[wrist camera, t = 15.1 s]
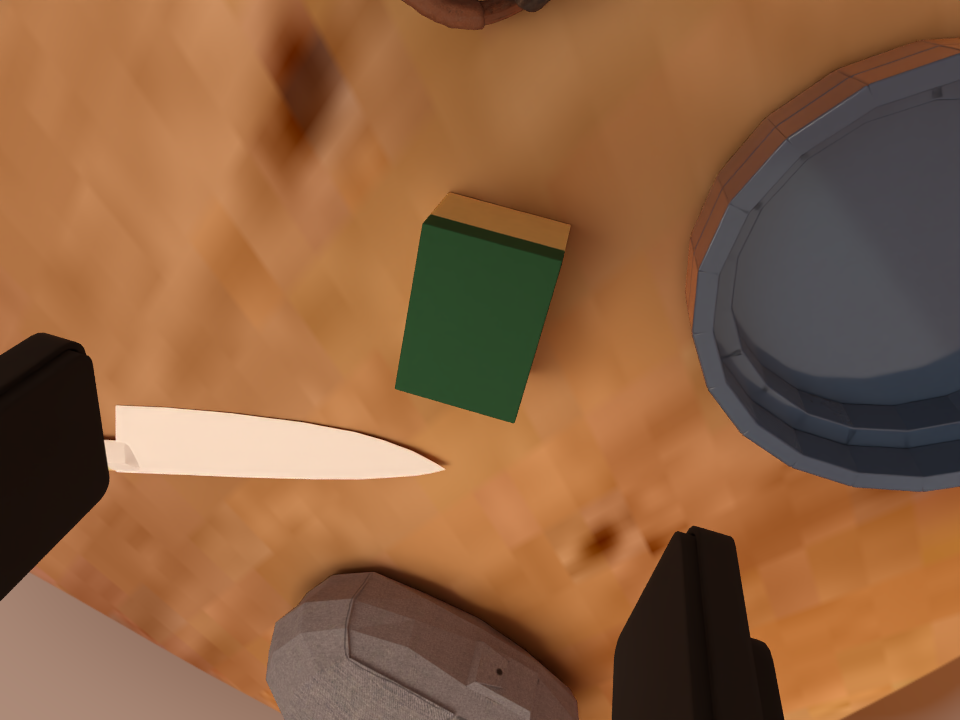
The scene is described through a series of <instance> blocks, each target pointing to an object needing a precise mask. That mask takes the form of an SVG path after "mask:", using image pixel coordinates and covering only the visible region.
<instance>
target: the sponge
mask: <svg viewBox="0 0 960 720" xmlns="http://www.w3.org/2000/svg"><path fill="white" fill-rule="evenodd" d="M570 228H571V225H569V224H565V223H562V222H558V221H554V220H551V219H547V218H543V217H540V216H536V215H532V214H528V213H525V212H521V211H517V210H514V209H510V208H506V207H502V206H499V205H495V204H491V203H488V202H484V201H480V200H477V199H473V198H469V197H465V196H462V195H458V194H454V193H451V192H449V193H448V194H447V195H446V196H445V198H444V199H443V200H442V201H441V202H440V204H439V205H438V206H437V207H436V208H435V209H434V211H433V212H432V213H431V214H430V216H429V217H428V218H427V219H426V220H425V221H424V223H423V224H422V230H421V236H420V242H419V248H418V254H417V260H416V266H415V272H414V278H413V284H412V290H411V295H410V301H409V307H408V313H407V319H406V325H405V331H404V337H403V343H402V349H401V355H400V361H399V366H398V372H397V378H396V384H395V389H397V390H400V391H404V392H407V393H411V394H414V395H418V396H421V397H424V398H428V399H431V400H435V401H438V402H442V403H445V404H449V405H452V406H455V407H459V408H462V409H466V410H469V411H473V412H476V413H480V414H483V415H487V416H490V417H493V418H497V419H500V420H504V421H507V422H511V423H515V420H516V417H517V413H518V410H519V407H520V403H521V400H522V396H523V393H524V390H525V386H526V383H527V380H528V376H529V373H530V369H531V366H532V363H533V359H534V356H535V353H536V349H537V346H538V342H539V339H540V336H541V332H542V329H543V326H544V322H545V319H546V315H547V312H548V309H549V305H550V302H551V299H552V295H553V292H554V288H555V285H556V282H557V278H558V275H559V272H560V268H561V265H562V261H563V257H564V253H565V249H566V244H567V240H568V236H569V232H570Z"/></svg>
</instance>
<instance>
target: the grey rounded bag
mask: <svg viewBox="0 0 960 720" xmlns="http://www.w3.org/2000/svg"><path fill="white" fill-rule="evenodd" d="M266 681H267V683H268V685H269V687H270V689H271V692H272V694H273V696H274V698H275V700H276V702H277V704H278V707H279V709H280V711H281V713H282V715H283V717H284V719H285V720H579V718H578V707H577V701H576V699H575V697H574V696H573V694H572V692H571V690H570V689H569V688H568V687H567V686H566V685H565V684H564V683H563V682H561V681H560V680H559V679H558V678H557V677H556V676H554V675H553V674H552V673H551V672H550V671H549V670H548V669H546V668H545V667H544V666H543V665H542V664H541V663H539V662H538V661H537V660H536V659H535V658H534V657H533V656H531V655H530V654H529V653H528V652H527V651H525V650H524V649H523V648H521V647H520V646H518V645H517V644H515V643H514V642H512V641H511V640H510V639H508V638H507V637H505V636H504V635H502V634H501V633H499V632H498V631H497V630H495V629H494V628H492V627H491V626H489V625H488V624H486V623H485V622H484V621H482V620H481V619H479V618H477V617H475V616H473V615H471V614H469V613H467V612H464V611H462V610H460V609H458V608H456V607H454V606H452V605H449V604H447V603H445V602H443V601H441V600H439V599H436V598H434V597H432V596H430V595H428V594H426V593H423V592H421V591H419V590H416V589H414V588H411V587H409V586H407V585H404V584H402V583H400V582H397V581H395V580H392V579H390V578H388V577H385V576H383V575H380V574H378V573H376V572H364V573H352V574H339V575H332V576H330V577H329V578H328V579H326V580H325V581H323V582H322V583H320V584H319V585H318V586H316V587H315V588H313V589H312V590H311V591H309V592H308V593H307V594H306V595H305V597H304V598H303V599H302V601H301V602H300V603H299V605H297V606H296V607H295V608H294V609H292V610H291V611H290V612H289V613H287V614H286V615H285V616H283V617H282V618H281V619H280V620H278V621H277V622H276V624H275V628H274V633H273V637H272V641H271V646H270V650H269V657H268V665H267V674H266Z"/></svg>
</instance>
